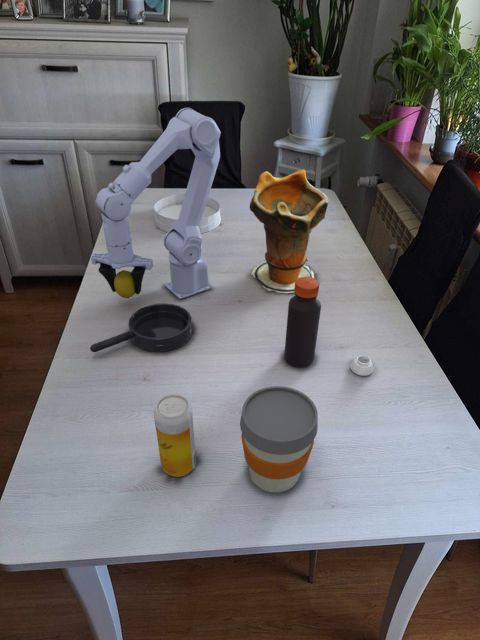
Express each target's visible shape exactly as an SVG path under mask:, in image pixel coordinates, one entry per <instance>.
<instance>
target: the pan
mask: <svg viewBox="0 0 480 640" xmlns="http://www.w3.org/2000/svg"><path fill="white" fill-rule="evenodd" d="M192 319H193V318H192V315H191V313H190V312H189V311H188V310H187V309H186V308H184V307H183V306H180V305H177V304H175V303H167V302H165V303H164V302H162V303H161V302H159V303H153V304H148V305H145V306H143V307H141V308H139V309H137V310H135V311H134V312H133V314H131V316H130V317H129V319H128V331H132V332H133V334H134V337H133V338H132V339H131V341H132V342H133V344H134V345H135V346H137V347H138V348H140V349H142V350H145V351H149V352H168V351H173V350H175V349H178V348H180V347H182V346H183V345H186V343H187V342H189V340H190V339H191V338H192V335H193V321H192Z"/></svg>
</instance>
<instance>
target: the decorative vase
mask: <svg viewBox="0 0 480 640" xmlns="http://www.w3.org/2000/svg"><path fill="white" fill-rule="evenodd" d="M253 191H254V192H253V196H252V197H251V200H250V202H249V210H250V211H251V212H252V213H253V215H254V216H255V218H256V219H257V220H258V221H259V222H260V223H261V224H263V230H264V234H265V246H266V247H265V248H266V252H265V253H264V258H265V260H264V262H261V263H259V264H258V265H256V266H255V268H254V269H252V272H251V275H252V276H253V278H254V279H257V282H258V283H259V284H260V285H261V286H262V288H263V289H266V290H267V291H268V292H271V291H273V292H276V293H277V294H290V293H291V294H293V293H295V291H294V290H295V281H296V280H297V279H298V278H301V277H312V278H314V279H315V273H314V272H313V270H311V267H310V266H307V265H306V263H307V262H309V261H308V258H307V257H306V255H307V250H308V246H309V242H310V235H311V233H312V231H313V230H314V229H315V228H316V227H318V225H319V224H320V223H321V222H322V220H324V219H325V218H326V214H327V209H328V206H329V201H330V199H329V198H328V196H327V195H326V194H325V193H324V192H323V191H321V190H320V189H318V188H317V187H315V186H313V184H311V183H310V182H309V181H308V178H307V171H306V170H305V169H299V170H296V171H295V172H293V173H291V174H288V175H286V176H282V177H275V176H273V175H272V173H270V172H269V171H264V172H262V173H260V175H259V176H258V181H257V185H256V187H255V189H254V190H253Z"/></svg>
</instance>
